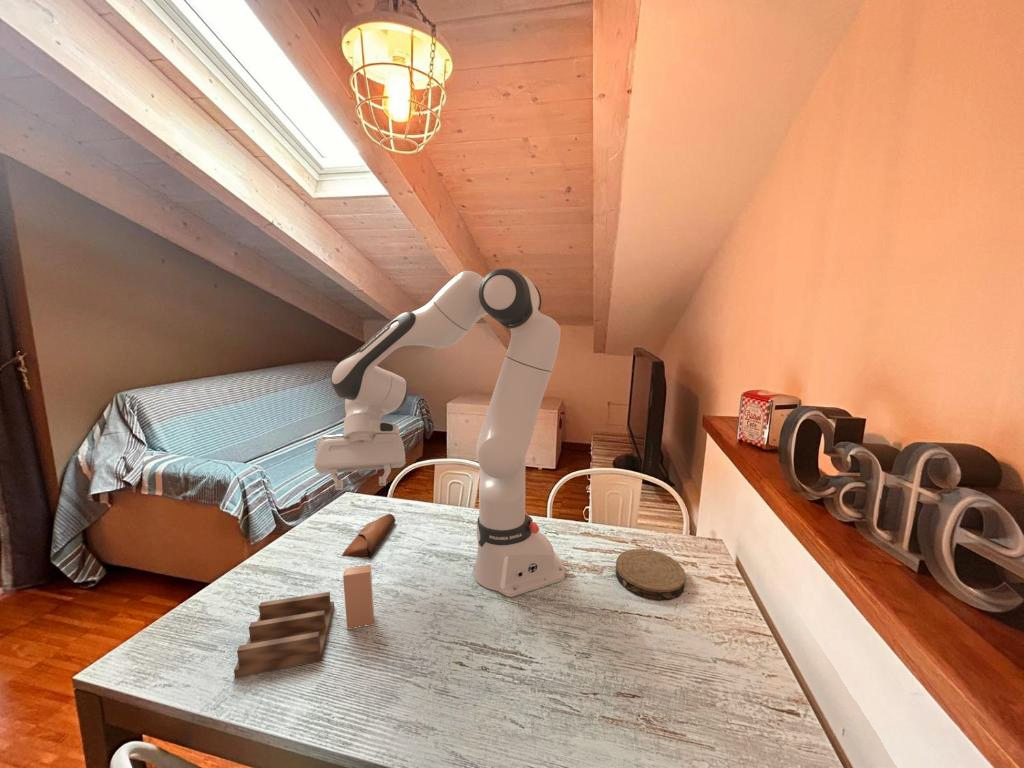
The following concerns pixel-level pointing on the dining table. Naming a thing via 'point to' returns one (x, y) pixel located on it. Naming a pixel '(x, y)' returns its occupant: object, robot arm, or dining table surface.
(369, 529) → the sunglasses case
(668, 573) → the wood slice
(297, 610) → the rack
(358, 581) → the clay slab
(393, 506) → the dining table surface
